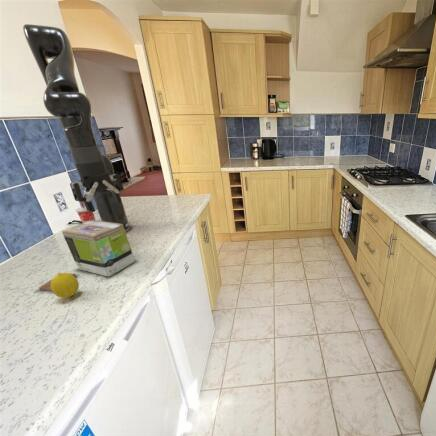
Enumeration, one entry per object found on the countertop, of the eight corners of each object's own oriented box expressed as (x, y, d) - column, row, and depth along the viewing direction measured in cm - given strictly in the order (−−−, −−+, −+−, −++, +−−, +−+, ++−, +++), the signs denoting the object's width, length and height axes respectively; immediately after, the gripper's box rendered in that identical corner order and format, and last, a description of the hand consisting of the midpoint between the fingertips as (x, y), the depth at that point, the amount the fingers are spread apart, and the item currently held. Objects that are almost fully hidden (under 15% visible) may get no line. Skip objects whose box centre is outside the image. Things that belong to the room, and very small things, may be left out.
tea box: (136, 261, 86) (124, 223, 80) (108, 278, 77) (92, 236, 71) (106, 254, 90) (92, 218, 84) (77, 269, 82) (59, 230, 76)
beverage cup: (79, 227, 113) (68, 199, 108) (93, 222, 119) (83, 195, 113) (87, 229, 111) (76, 200, 106) (101, 224, 116) (91, 196, 111)
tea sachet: (40, 290, 72) (38, 287, 72) (62, 275, 79) (61, 273, 78) (55, 290, 72) (53, 288, 71) (76, 276, 78) (75, 273, 78)
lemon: (67, 291, 72) (56, 268, 68) (87, 289, 72) (77, 267, 69) (52, 304, 67) (39, 280, 63) (73, 302, 67) (62, 279, 64)
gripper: (105, 157, 86) (119, 200, 92) (56, 164, 74) (76, 213, 80) (118, 157, 83) (132, 202, 89) (69, 165, 71) (89, 216, 77)
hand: (105, 207), depth 85 cm, fingers open, 8 cm apart
